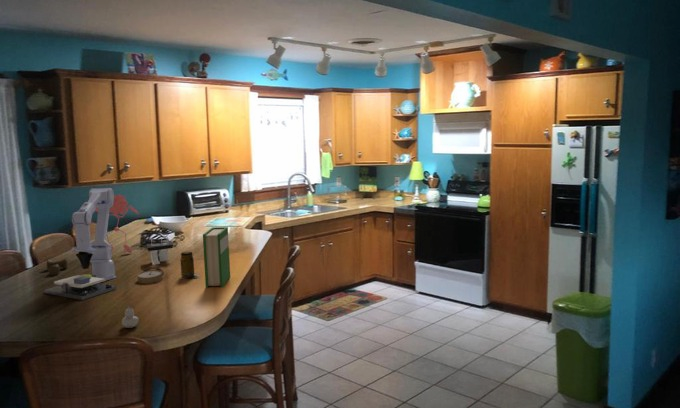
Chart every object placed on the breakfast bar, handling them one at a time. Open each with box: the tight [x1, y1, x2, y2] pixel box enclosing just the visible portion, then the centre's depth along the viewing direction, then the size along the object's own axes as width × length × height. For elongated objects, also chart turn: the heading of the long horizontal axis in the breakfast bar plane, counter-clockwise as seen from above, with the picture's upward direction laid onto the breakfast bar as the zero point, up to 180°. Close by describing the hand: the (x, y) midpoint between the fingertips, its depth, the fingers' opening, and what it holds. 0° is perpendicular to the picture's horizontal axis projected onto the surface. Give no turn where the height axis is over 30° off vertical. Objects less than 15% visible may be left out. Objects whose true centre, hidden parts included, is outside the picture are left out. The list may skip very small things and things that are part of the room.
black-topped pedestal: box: [146, 236, 174, 266], centre depth 286 cm, size 28×26×13 cm
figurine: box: [94, 193, 140, 256], centre depth 311 cm, size 15×26×35 cm, turn 89°
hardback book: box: [202, 226, 231, 289], centre depth 245 cm, size 18×7×24 cm, turn 0°
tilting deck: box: [53, 273, 106, 288], centre depth 236 cm, size 18×12×3 cm, turn 62°
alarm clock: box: [136, 267, 165, 284], centre depth 254 cm, size 11×5×15 cm
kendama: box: [46, 258, 69, 276], centre depth 274 cm, size 6×10×20 cm
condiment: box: [178, 251, 202, 280], centre depth 256 cm, size 7×8×12 cm
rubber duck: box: [121, 305, 139, 329], centre depth 190 cm, size 5×7×8 cm
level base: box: [44, 274, 117, 301], centre depth 236 cm, size 25×17×6 cm
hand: (85, 268), depth 238 cm, fingers closed
